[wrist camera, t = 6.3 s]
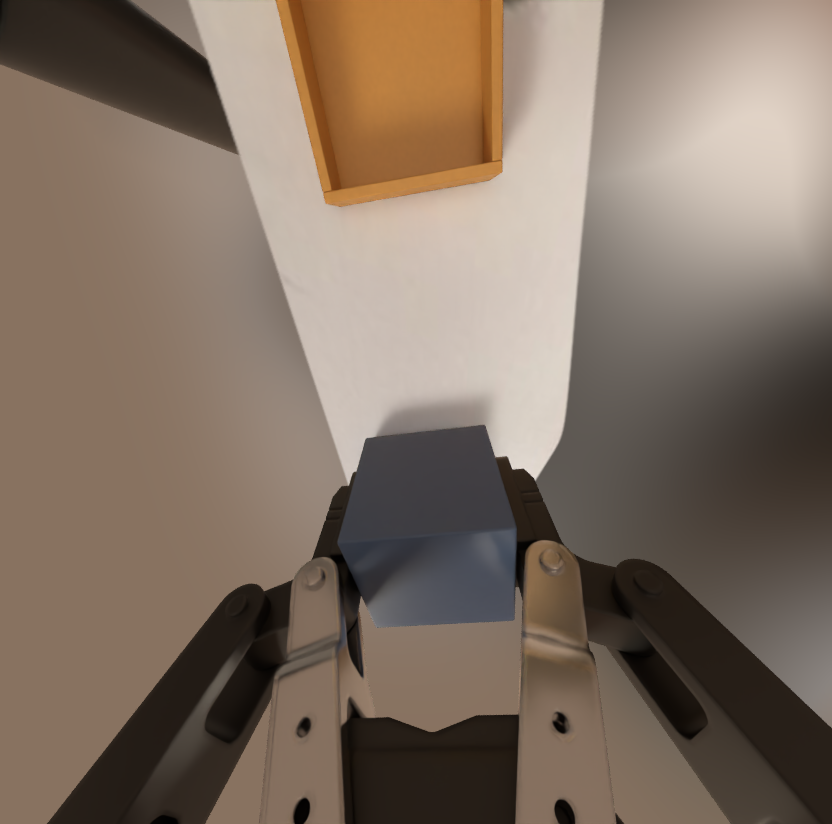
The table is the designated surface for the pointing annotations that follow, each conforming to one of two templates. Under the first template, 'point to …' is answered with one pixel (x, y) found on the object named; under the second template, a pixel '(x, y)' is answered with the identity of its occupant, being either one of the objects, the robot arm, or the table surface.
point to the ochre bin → (398, 92)
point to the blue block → (431, 530)
